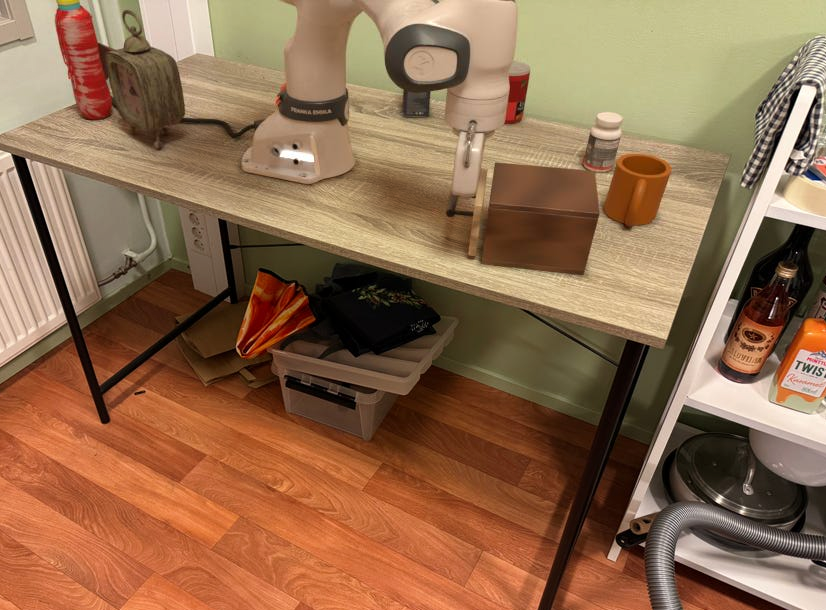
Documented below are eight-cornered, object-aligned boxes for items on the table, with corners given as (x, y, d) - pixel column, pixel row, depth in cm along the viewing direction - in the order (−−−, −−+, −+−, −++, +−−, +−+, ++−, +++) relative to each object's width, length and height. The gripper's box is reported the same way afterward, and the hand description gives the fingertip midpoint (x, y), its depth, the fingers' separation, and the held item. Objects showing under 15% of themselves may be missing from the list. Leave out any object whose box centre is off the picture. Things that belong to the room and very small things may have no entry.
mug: (591, 225, 117) (603, 176, 111) (611, 196, 124) (623, 149, 118) (644, 239, 113) (660, 189, 107) (661, 208, 121) (677, 160, 115)
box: (429, 117, 152) (432, 68, 145) (403, 117, 152) (406, 68, 145) (426, 104, 158) (429, 56, 151) (402, 104, 158) (404, 56, 151)
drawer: (441, 252, 109) (445, 202, 103) (449, 213, 118) (454, 165, 112) (562, 265, 106) (574, 214, 100) (561, 224, 115) (571, 176, 109)
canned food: (522, 125, 148) (530, 73, 141) (485, 122, 149) (491, 71, 142) (522, 111, 154) (531, 61, 146) (487, 109, 155) (493, 59, 148)
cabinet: (481, 264, 108) (489, 202, 101) (486, 220, 118) (494, 162, 111) (583, 275, 105) (599, 213, 98) (580, 229, 115) (595, 170, 108)
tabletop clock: (121, 133, 147) (91, 7, 130) (158, 121, 151) (134, -2, 135) (156, 154, 139) (128, 23, 122) (193, 142, 143) (172, 13, 127)
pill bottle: (584, 158, 136) (595, 109, 129) (613, 162, 134) (626, 112, 128) (581, 170, 132) (592, 120, 125) (611, 174, 130) (625, 124, 124)
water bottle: (111, 101, 161) (83, -17, 144) (134, 108, 157) (108, -12, 140) (69, 118, 153) (34, -5, 137) (92, 126, 150) (59, 1, 133)
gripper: (493, 140, 91) (480, 230, 100) (501, 85, 106) (490, 168, 115) (446, 136, 92) (438, 226, 101) (460, 83, 107) (452, 165, 116)
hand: (466, 195), depth 108 cm, fingers closed
